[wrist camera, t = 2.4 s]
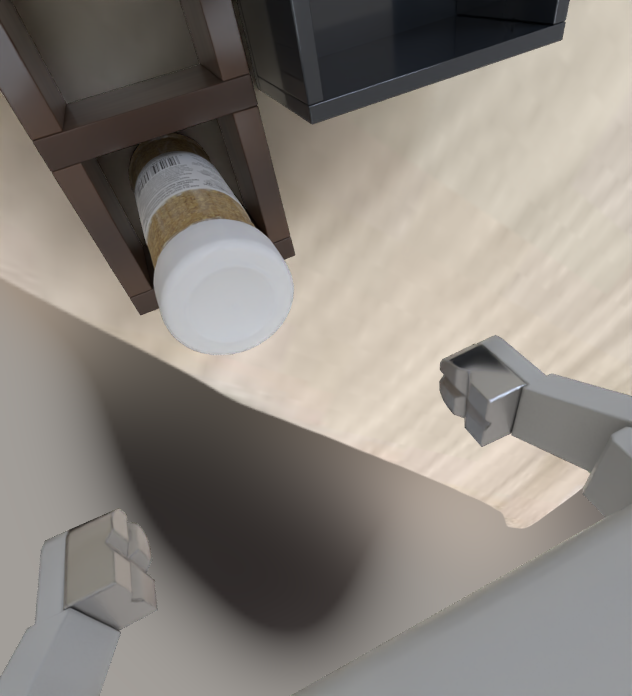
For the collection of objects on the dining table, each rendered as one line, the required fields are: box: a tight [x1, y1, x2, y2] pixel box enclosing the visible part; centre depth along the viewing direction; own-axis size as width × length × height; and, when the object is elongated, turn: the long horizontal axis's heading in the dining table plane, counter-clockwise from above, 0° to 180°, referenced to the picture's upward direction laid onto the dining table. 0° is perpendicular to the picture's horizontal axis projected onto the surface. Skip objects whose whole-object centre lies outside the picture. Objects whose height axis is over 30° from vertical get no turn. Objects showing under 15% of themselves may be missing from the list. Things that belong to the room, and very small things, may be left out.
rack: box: [0, 0, 295, 315], centre depth 19 cm, size 17×9×5 cm, turn 11°
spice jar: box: [129, 133, 294, 355], centre depth 19 cm, size 5×5×13 cm
